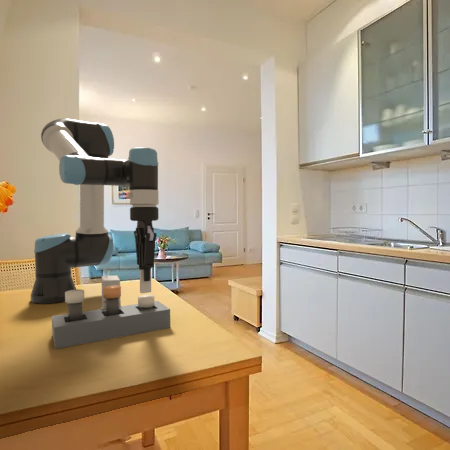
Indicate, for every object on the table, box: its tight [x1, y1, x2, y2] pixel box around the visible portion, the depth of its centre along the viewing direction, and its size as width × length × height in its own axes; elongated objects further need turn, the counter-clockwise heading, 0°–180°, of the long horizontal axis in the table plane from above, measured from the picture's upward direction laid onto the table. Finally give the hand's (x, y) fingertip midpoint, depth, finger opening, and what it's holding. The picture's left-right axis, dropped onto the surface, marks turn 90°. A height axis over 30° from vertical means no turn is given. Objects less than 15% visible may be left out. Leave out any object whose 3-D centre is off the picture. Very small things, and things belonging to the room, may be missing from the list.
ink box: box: [101, 274, 122, 309], centre depth 104 cm, size 8×5×12 cm, turn 23°
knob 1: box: [64, 289, 85, 322], centre depth 86 cm, size 4×4×7 cm
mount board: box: [51, 300, 171, 350], centre depth 91 cm, size 10×28×5 cm, turn 120°
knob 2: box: [137, 294, 155, 311], centre depth 95 cm, size 4×4×7 cm
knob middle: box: [103, 285, 122, 316], centre depth 91 cm, size 4×4×7 cm
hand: (145, 292), depth 95 cm, fingers closed
